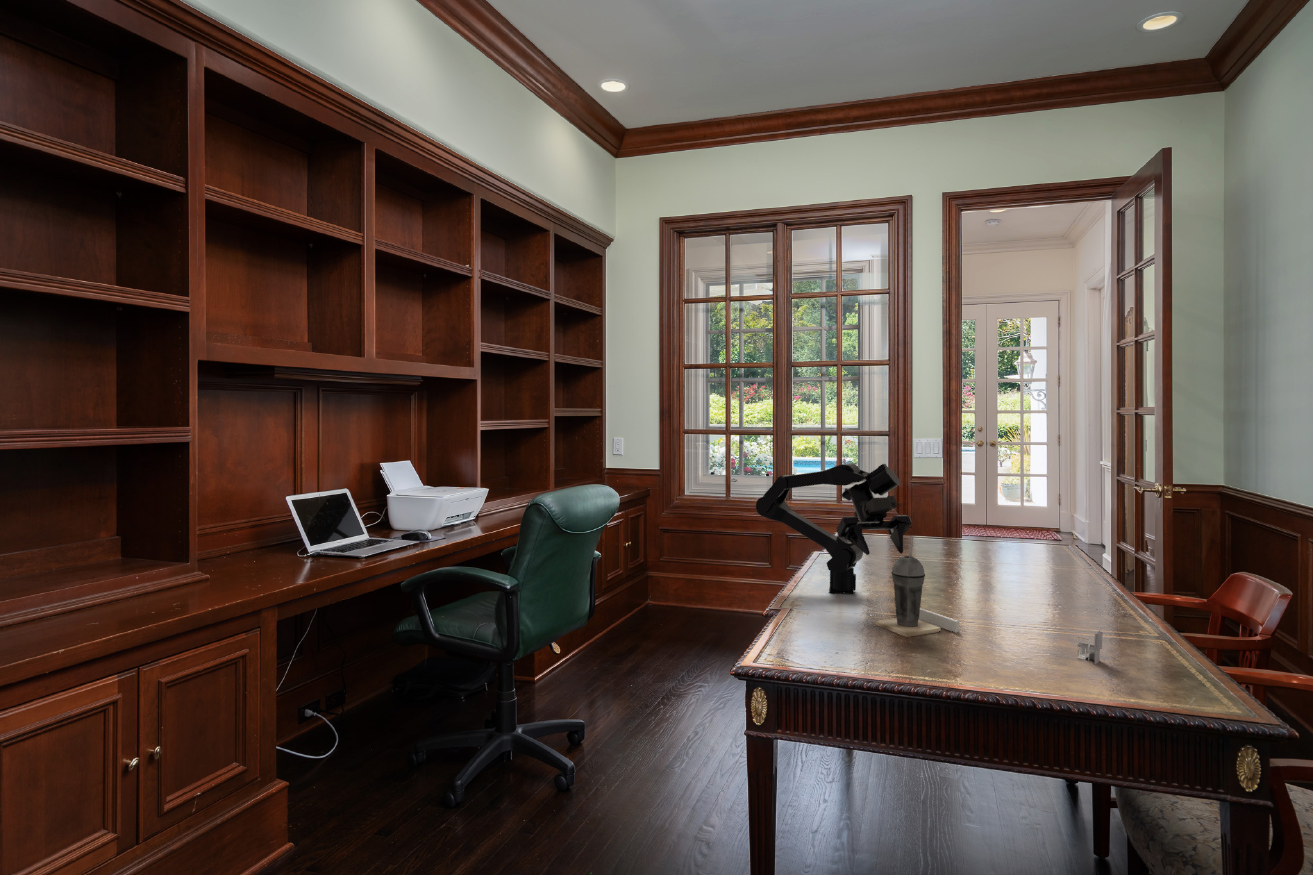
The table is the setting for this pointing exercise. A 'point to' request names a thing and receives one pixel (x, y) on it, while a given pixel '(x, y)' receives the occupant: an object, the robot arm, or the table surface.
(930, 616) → the divider wall
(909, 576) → the beverage cup
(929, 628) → the coaster
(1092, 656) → the architectural model
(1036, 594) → the table surface
